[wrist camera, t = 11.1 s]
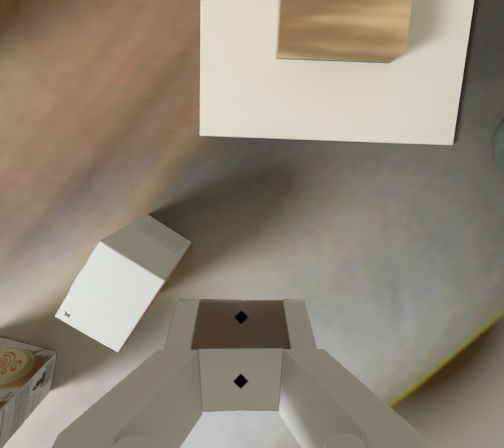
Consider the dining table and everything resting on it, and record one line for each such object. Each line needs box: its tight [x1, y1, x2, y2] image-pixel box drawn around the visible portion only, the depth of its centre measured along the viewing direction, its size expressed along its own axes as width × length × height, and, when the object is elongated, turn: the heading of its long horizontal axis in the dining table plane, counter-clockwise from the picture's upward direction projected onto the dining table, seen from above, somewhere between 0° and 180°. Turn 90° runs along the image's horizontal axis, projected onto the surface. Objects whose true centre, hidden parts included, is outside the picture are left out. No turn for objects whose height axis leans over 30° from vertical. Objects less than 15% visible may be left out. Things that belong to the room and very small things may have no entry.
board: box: [200, 0, 474, 145], centre depth 35 cm, size 26×28×1 cm
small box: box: [55, 215, 191, 352], centre depth 34 cm, size 8×6×13 cm
